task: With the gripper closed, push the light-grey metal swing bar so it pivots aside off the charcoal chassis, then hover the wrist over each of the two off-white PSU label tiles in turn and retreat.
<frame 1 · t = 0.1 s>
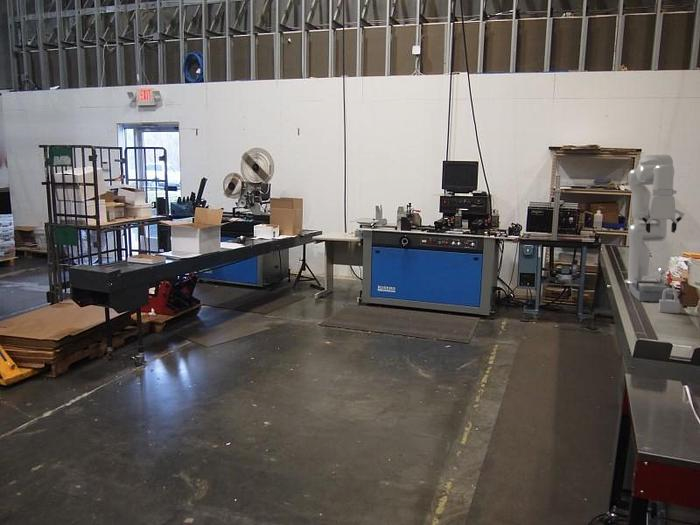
hand: (660, 232, 238), 31 cm above the table, fingers open, 9 cm apart
cable arm: (653, 282, 255), point 6 cm above the table, hinge at 0.0°
padlock: (668, 312, 222), on the table
chassis: (649, 296, 253), on the table
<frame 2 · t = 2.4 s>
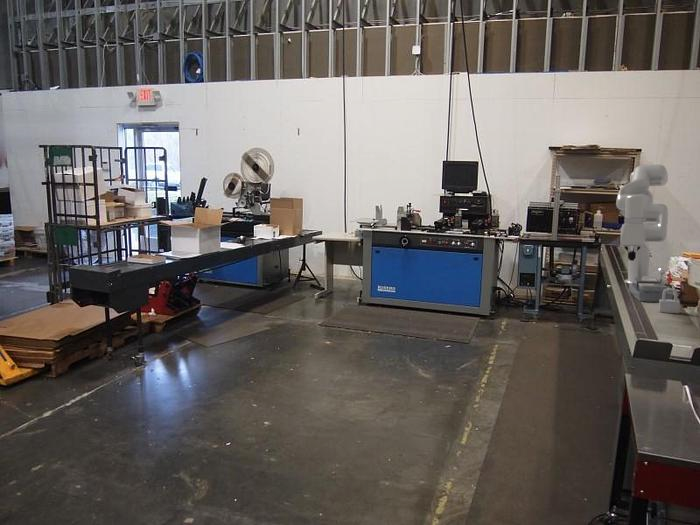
hand: (631, 260, 254), 17 cm above the table, fingers closed
nothing on the table moved.
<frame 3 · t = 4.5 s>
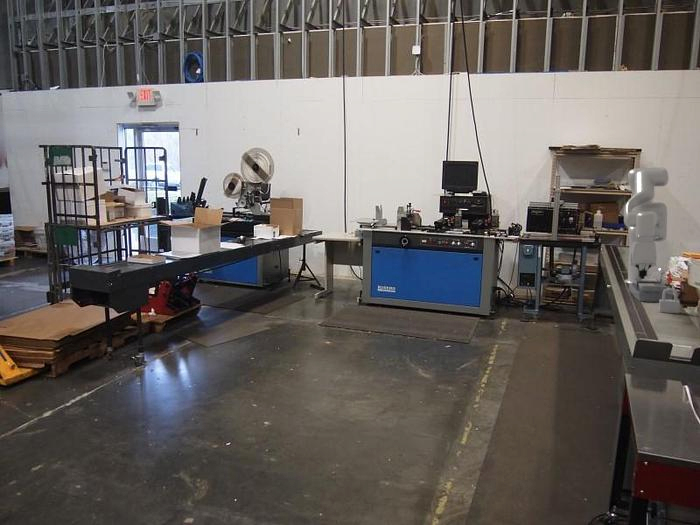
hand: (642, 278, 251), 9 cm above the table, fingers closed
cable arm: (654, 282, 255), point 6 cm above the table, hinge at 2.0°, touching gripper
everything else where it was.
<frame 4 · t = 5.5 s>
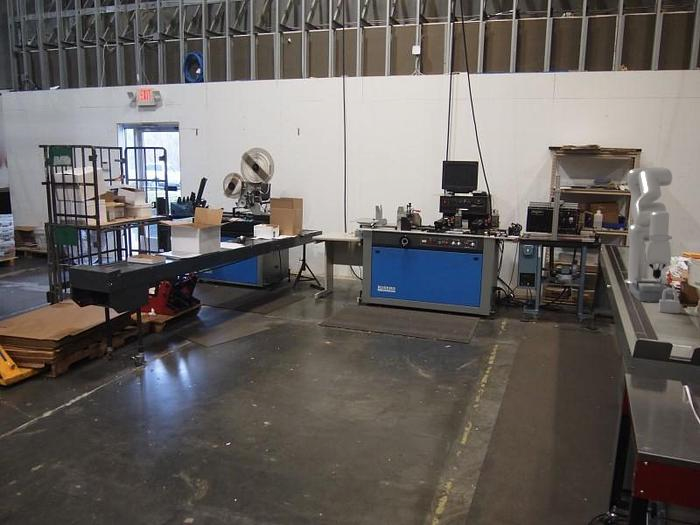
hand: (656, 278, 248), 9 cm above the table, fingers closed
cable arm: (662, 282, 253), point 6 cm above the table, hinge at 18.1°, touching gripper
everything else where it was.
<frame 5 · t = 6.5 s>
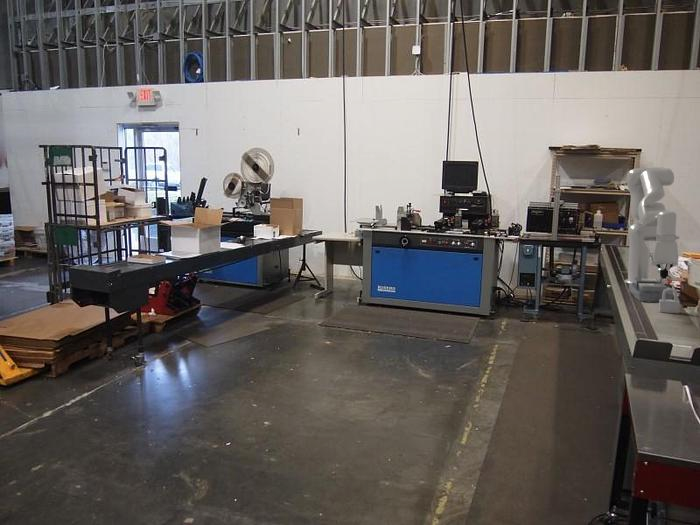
hand: (663, 278, 247), 9 cm above the table, fingers closed
cable arm: (666, 282, 253), point 6 cm above the table, hinge at 27.2°, touching gripper
everything else where it was.
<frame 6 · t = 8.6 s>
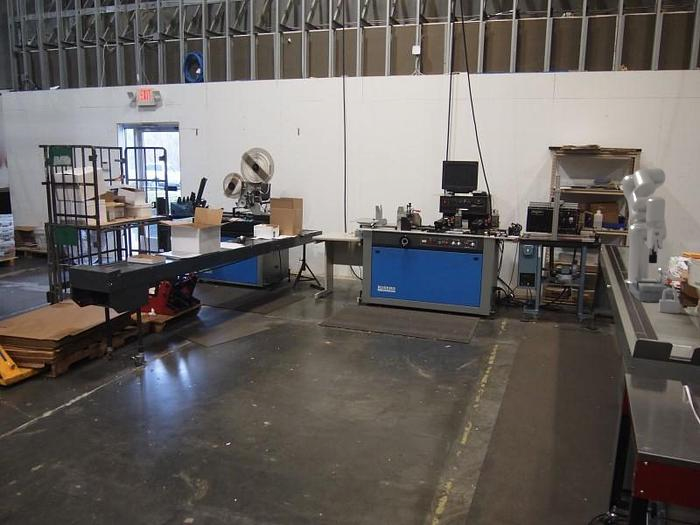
hand: (652, 262, 256), 15 cm above the table, fingers closed
cable arm: (667, 283, 253), point 6 cm above the table, hinge at 27.4°
everything else where it was.
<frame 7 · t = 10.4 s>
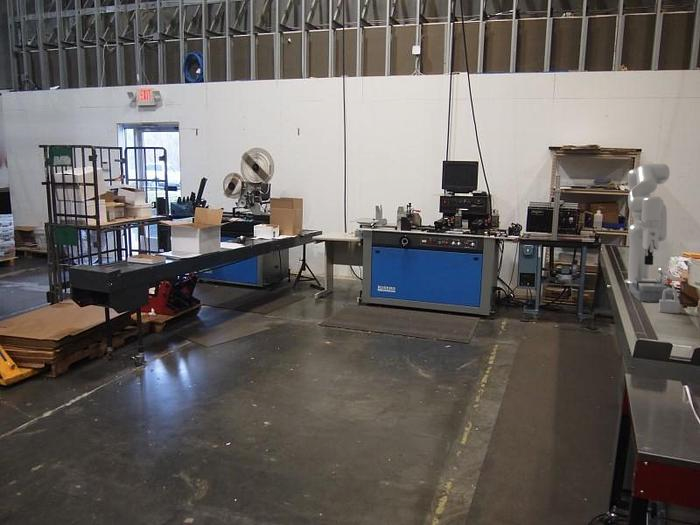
hand: (648, 264, 246), 16 cm above the table, fingers closed
nothing on the table moved.
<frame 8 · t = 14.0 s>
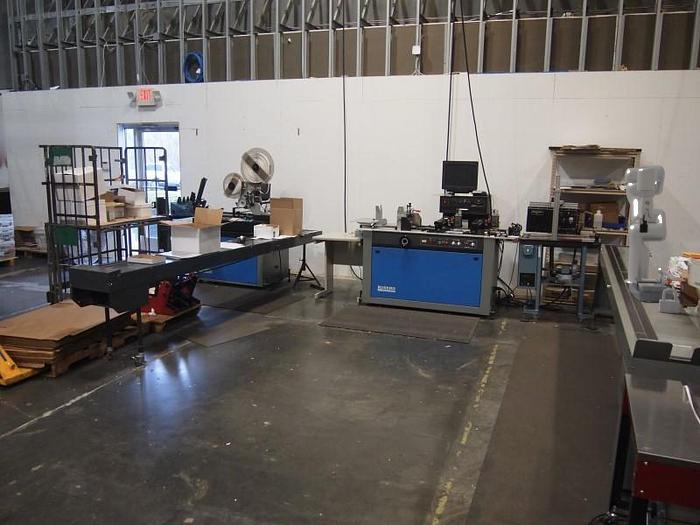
hand: (643, 232, 258), 29 cm above the table, fingers closed
nothing on the table moved.
at the end: cable arm at +27° (first picture: +0°); the gripper is holding nothing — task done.
